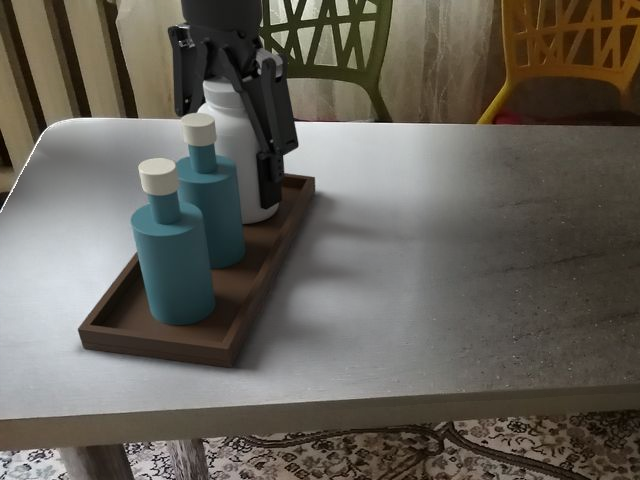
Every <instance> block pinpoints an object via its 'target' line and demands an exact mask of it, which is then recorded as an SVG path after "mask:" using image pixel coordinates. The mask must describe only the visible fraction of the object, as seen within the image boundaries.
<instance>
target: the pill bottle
mask: <svg viewBox="0 0 640 480" xmlns="http://www.w3.org/2000/svg"><path fill="white" fill-rule="evenodd" d="M249 79H251V75H250V76H249V77H247V78H244V79H242V80H243V82H244V81H247V80H249ZM203 89H204V95H205V98H206V103H204V104H203V105H202V106H201V107H200V108H199V110H198V112H197V113H205V114H209V115H211V116H213V118H214V120H215V128H216V136H217V140H216V142H214V146H215V153H216V155H220V156H223V157H226V158H228V159H230V160H232V161H233V162H234V163H235V165H236V169H237V178H238V187H239V196H240V206H241V215H242V224H250V223H256V222H260V221H263V220H265V219H268V218H269V217H271V216H272V215H273V214H274V213H275V212H276V211H277V209H278V206H279V203H277V204H275V205H274V206H272V207H270V208H269V209H267V210H265V209H263V208H261V202H260V191H259V180H258V169H257V159H256V154H257V153H259V152H261V151H262V150H261V147H260V145H259V142H258V140H257V137H256V135H255V132H254V130H253V127H252V125H251V122H250V119H249V117H248V114H247V112H246V109H245V107H244V104H243V102H242V99H241V97H240V94H239V93H237V92H235V91H234V89H233V86H232V84H231V81H230V80H228V79H227V78H225V77H224V76H214V77H212V78H209V79H207V80H205V81H204V82H203ZM271 142H273V140H271Z"/></svg>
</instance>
